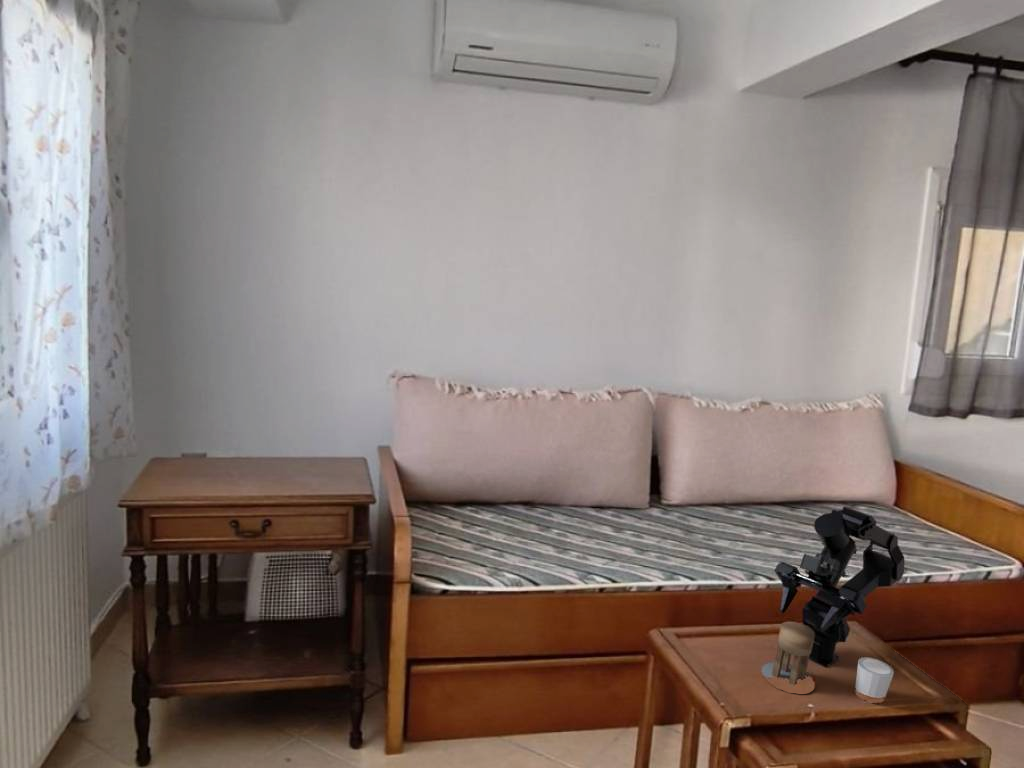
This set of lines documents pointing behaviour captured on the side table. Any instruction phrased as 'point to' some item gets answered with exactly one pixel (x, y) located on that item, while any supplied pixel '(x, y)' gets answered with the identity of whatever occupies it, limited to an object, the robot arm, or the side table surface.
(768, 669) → the mat
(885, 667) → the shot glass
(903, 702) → the side table surface
